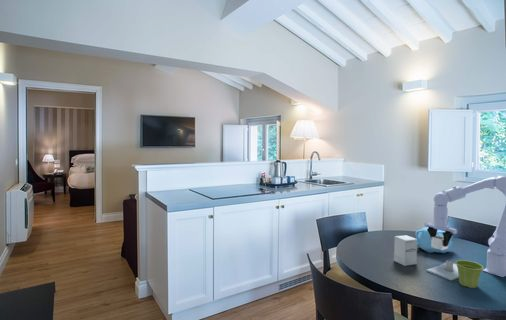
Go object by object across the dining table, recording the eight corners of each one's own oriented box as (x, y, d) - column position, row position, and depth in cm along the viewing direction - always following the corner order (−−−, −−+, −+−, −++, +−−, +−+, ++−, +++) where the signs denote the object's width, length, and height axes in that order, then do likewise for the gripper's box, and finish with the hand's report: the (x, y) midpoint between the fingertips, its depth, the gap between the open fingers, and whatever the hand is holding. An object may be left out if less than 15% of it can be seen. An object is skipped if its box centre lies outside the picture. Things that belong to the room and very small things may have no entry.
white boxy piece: (437, 245, 155) (437, 235, 155) (448, 248, 151) (448, 238, 150) (430, 246, 153) (431, 236, 152) (441, 250, 148) (442, 239, 148)
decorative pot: (426, 243, 180) (427, 220, 179) (456, 251, 166) (457, 226, 165) (410, 249, 171) (411, 224, 170) (441, 257, 158) (441, 231, 157)
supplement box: (404, 266, 147) (405, 240, 147) (393, 260, 154) (394, 235, 154) (417, 264, 149) (417, 239, 148) (405, 259, 156) (406, 234, 156)
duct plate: (448, 263, 150) (449, 253, 150) (473, 271, 141) (474, 261, 140) (426, 271, 141) (427, 261, 141) (451, 280, 132) (452, 269, 131)
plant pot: (471, 279, 133) (471, 259, 132) (488, 290, 123) (489, 268, 123) (449, 280, 132) (450, 260, 132) (465, 290, 123) (466, 269, 123)
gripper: (421, 215, 155) (420, 241, 156) (451, 221, 142) (450, 250, 143) (429, 213, 158) (428, 239, 159) (459, 219, 146) (458, 247, 147)
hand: (439, 244), depth 151 cm, fingers closed on white boxy piece, 5 cm apart
